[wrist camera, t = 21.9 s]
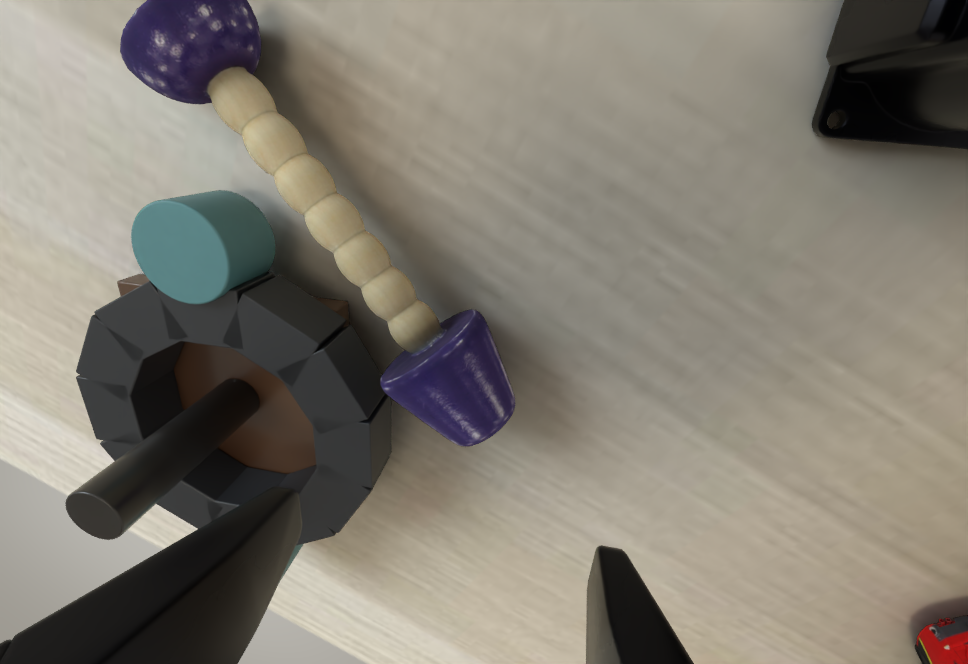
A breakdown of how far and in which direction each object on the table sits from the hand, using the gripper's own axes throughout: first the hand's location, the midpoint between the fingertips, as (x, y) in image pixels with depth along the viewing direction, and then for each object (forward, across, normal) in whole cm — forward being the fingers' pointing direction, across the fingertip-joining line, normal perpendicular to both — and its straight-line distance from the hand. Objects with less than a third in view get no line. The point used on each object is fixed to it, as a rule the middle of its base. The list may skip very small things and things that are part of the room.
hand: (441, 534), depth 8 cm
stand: (+12, +12, +6) cm, 18 cm away
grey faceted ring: (+11, +11, +6) cm, 17 cm away
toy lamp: (+10, +11, -8) cm, 17 cm away
